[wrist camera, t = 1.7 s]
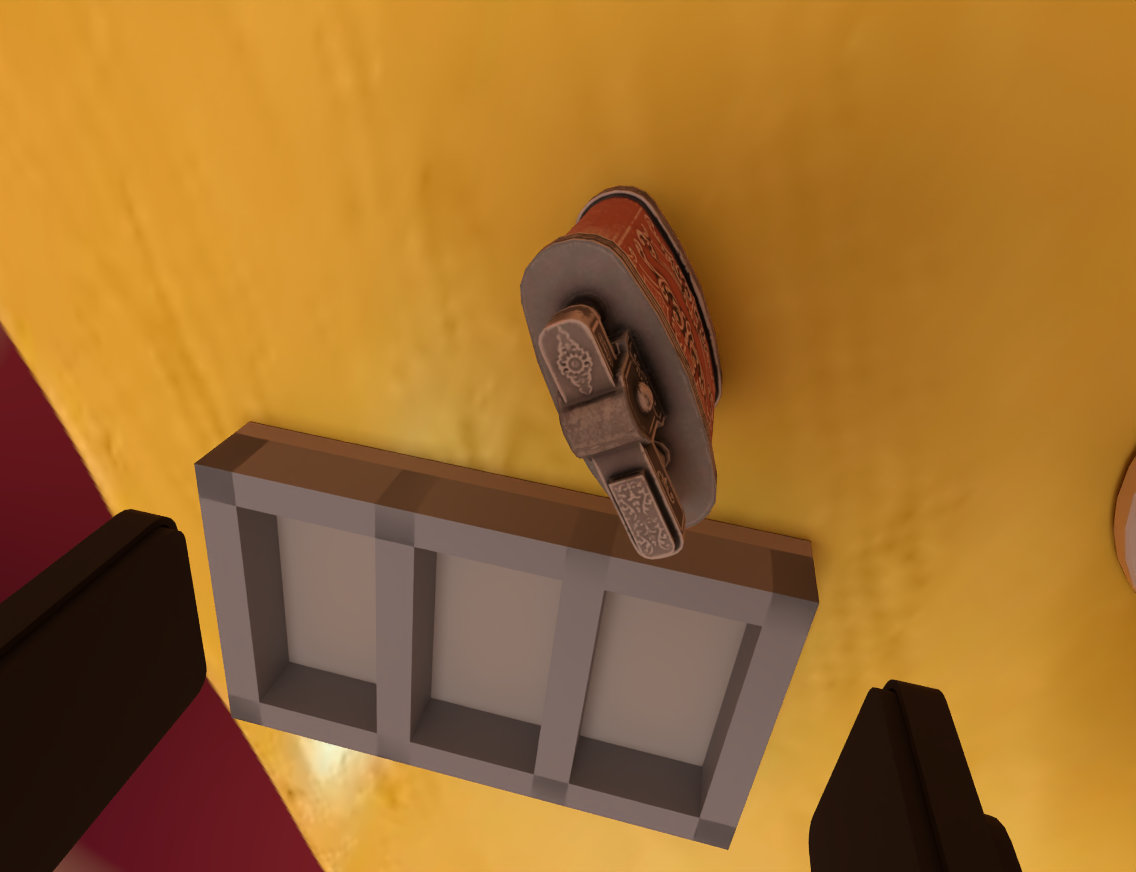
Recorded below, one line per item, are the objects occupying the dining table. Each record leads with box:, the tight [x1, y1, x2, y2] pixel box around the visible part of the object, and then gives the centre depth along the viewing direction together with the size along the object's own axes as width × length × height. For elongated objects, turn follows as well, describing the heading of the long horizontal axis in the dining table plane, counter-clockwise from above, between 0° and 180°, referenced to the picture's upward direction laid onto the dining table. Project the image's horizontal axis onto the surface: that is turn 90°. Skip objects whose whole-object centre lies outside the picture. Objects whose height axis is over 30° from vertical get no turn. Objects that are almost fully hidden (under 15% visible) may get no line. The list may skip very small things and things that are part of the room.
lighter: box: [520, 186, 722, 559], centre depth 20 cm, size 8×3×10 cm, turn 25°
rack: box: [194, 422, 819, 850], centre depth 30 cm, size 22×14×4 cm, turn 83°
